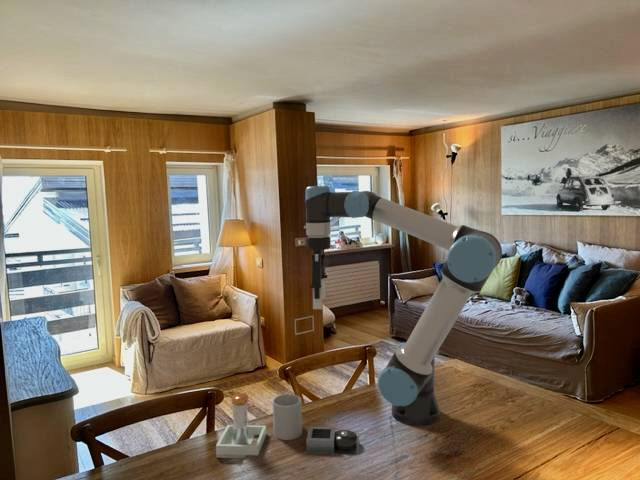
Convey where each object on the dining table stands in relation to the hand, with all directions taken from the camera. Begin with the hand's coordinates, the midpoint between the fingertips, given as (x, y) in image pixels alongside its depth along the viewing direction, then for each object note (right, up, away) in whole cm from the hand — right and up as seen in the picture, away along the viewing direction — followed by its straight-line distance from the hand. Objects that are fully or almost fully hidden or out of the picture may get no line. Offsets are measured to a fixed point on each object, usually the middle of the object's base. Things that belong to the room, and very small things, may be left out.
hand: (319, 303), depth 151 cm
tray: (-22, -39, -14) cm, 47 cm away
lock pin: (-22, -38, -14) cm, 46 cm away
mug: (-9, -38, -7) cm, 40 cm away
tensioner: (+4, -38, -15) cm, 42 cm away
